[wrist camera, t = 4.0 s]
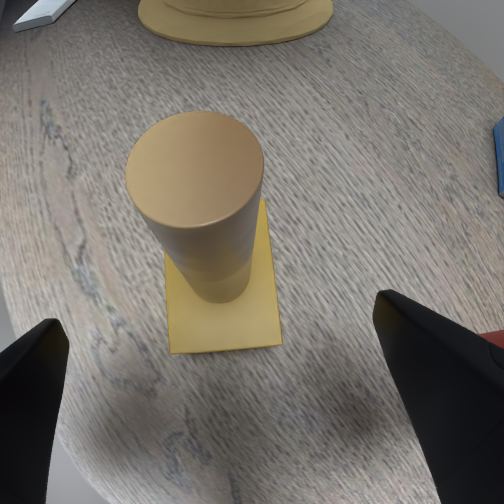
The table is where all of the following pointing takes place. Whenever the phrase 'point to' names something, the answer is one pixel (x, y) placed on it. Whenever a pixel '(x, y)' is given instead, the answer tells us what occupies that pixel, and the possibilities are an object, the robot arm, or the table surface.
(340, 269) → the table surface
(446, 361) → the robot arm
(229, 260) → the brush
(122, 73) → the table surface
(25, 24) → the hard drive
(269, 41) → the desk lamp
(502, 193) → the label tape box
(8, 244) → the table surface
